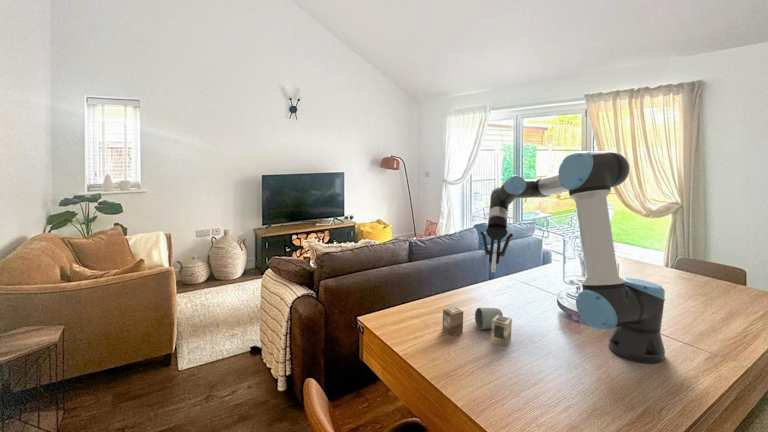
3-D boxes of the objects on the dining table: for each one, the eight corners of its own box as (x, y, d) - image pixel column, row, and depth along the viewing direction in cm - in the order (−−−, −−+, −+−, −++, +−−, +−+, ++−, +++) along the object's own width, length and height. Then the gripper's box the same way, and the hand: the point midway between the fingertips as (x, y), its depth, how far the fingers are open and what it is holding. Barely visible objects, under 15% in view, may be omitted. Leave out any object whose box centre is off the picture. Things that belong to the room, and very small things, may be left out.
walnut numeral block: (462, 332, 140) (463, 310, 138) (451, 336, 137) (451, 313, 136) (453, 327, 144) (453, 306, 143) (441, 330, 141) (442, 308, 140)
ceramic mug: (504, 331, 141) (505, 310, 140) (482, 333, 139) (483, 312, 138) (490, 319, 151) (491, 300, 150) (470, 321, 149) (471, 301, 148)
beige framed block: (510, 340, 134) (511, 317, 132) (505, 347, 129) (507, 323, 128) (496, 337, 136) (497, 314, 135) (490, 343, 132) (491, 319, 131)
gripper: (513, 226, 166) (510, 276, 153) (482, 224, 170) (476, 273, 157) (514, 215, 160) (511, 267, 147) (481, 214, 164) (475, 263, 151)
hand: (493, 270), depth 152 cm, fingers closed
